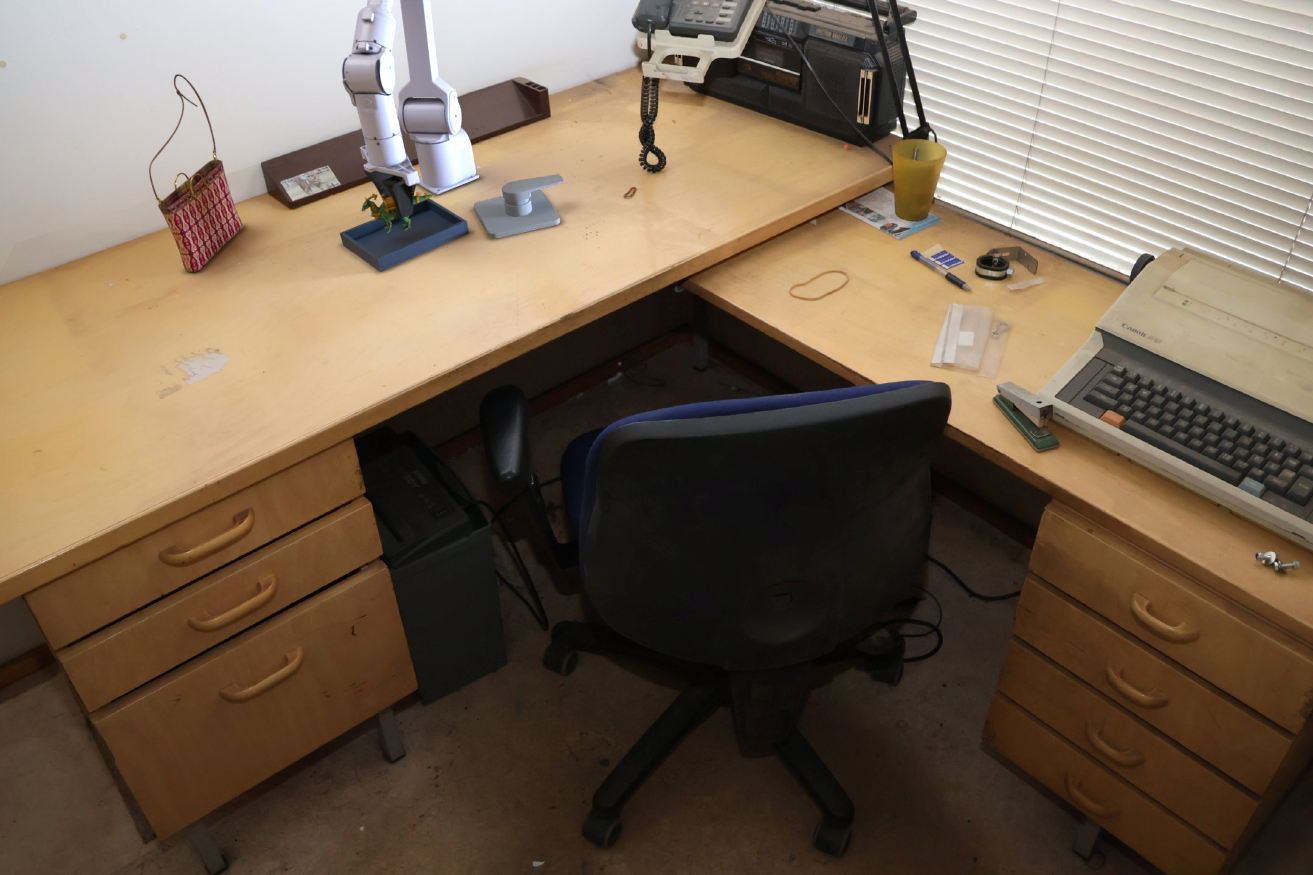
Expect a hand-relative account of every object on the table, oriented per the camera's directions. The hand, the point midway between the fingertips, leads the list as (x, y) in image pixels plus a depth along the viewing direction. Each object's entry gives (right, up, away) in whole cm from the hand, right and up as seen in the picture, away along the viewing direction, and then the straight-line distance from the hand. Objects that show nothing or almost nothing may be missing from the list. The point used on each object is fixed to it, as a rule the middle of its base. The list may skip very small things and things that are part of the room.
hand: (399, 211), depth 165 cm
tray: (0, -4, +3) cm, 5 cm away
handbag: (-33, -4, +5) cm, 34 cm away
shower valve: (+19, +1, +8) cm, 21 cm away
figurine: (0, -2, +2) cm, 3 cm away
